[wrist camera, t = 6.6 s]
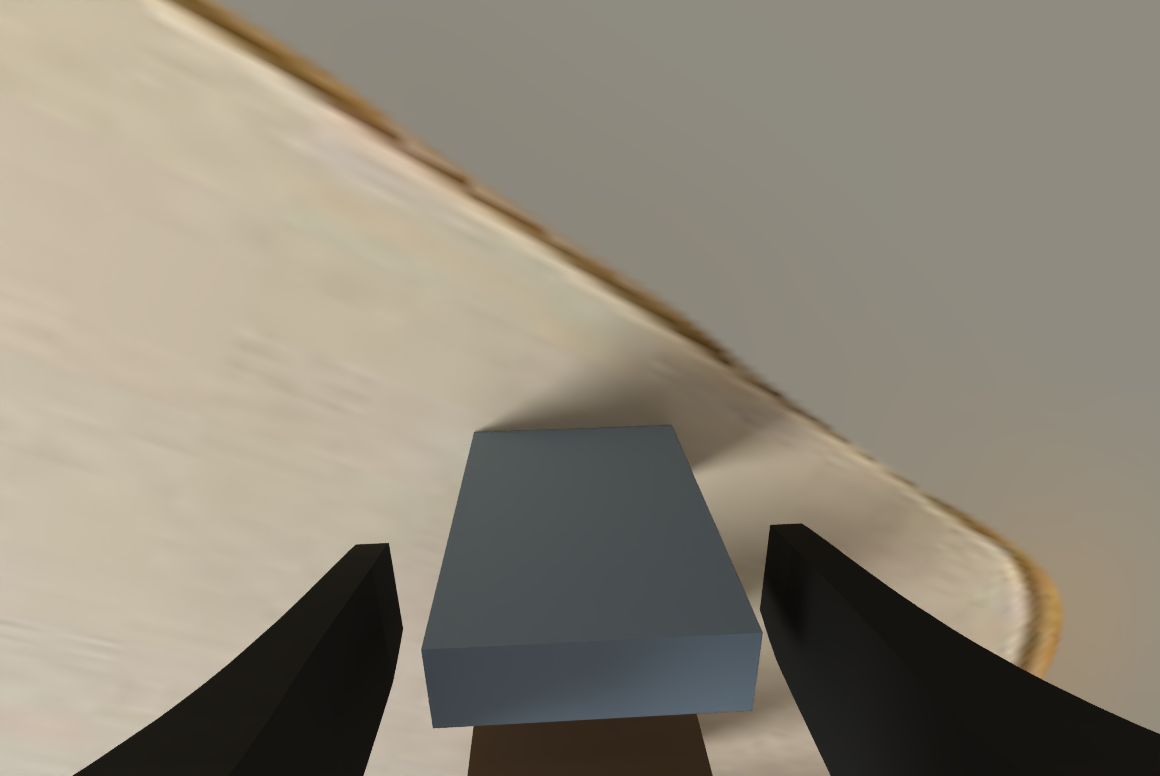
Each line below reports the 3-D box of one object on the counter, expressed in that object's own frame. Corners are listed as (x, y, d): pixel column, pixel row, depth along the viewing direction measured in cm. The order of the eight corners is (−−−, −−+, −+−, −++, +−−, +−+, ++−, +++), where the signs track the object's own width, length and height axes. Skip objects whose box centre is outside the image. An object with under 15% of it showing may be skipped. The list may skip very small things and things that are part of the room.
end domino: (669, 479, 16) (752, 710, 10) (479, 487, 16) (433, 728, 9) (671, 425, 15) (763, 632, 9) (474, 432, 15) (421, 649, 9)
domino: (661, 631, 18) (726, 908, 12) (493, 640, 18) (463, 927, 11) (664, 589, 17) (733, 856, 11) (489, 598, 17) (455, 874, 11)
